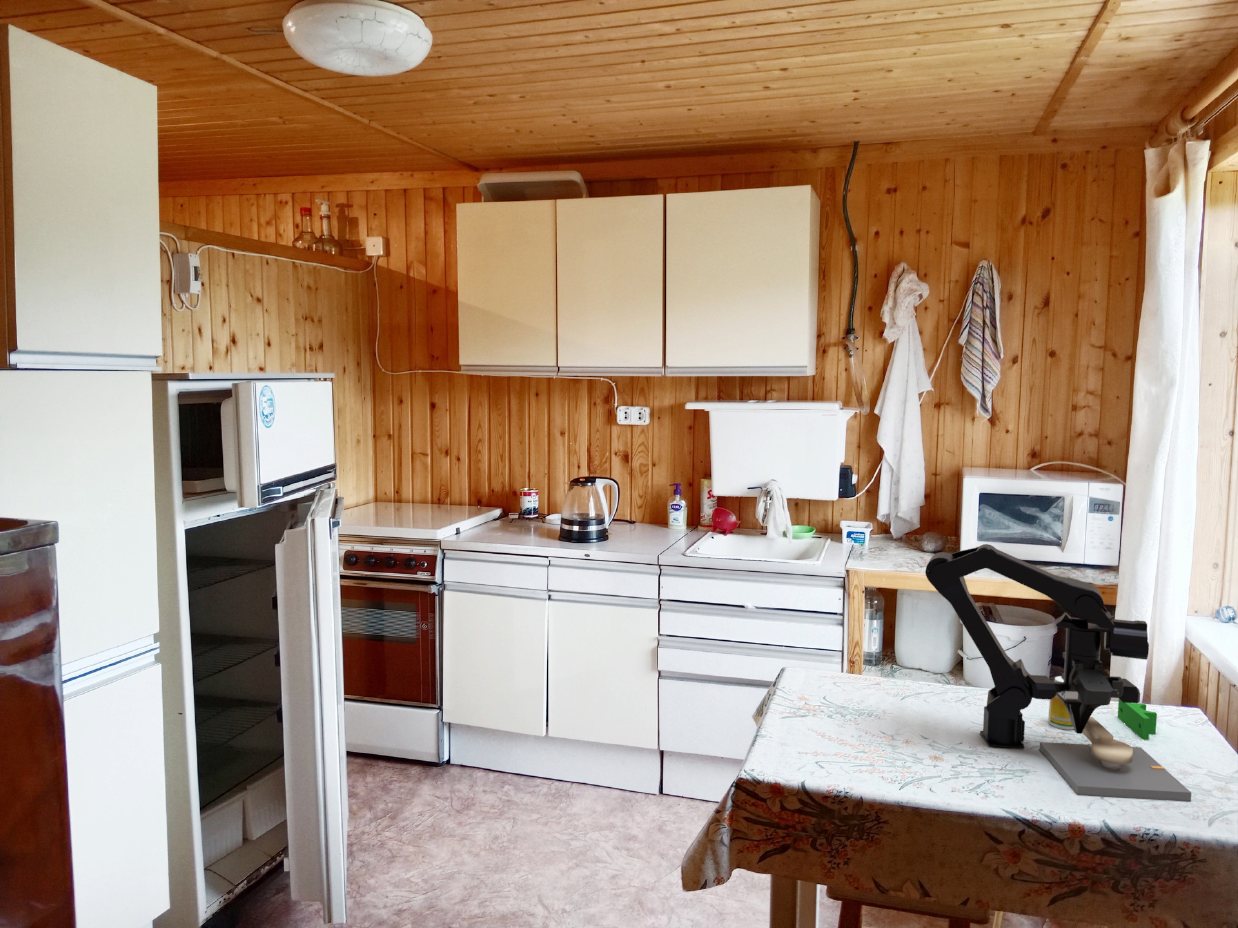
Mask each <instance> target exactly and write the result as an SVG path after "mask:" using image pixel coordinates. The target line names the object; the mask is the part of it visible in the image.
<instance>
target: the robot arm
mask: <svg viewBox="0 0 1238 928" xmlns="http://www.w3.org/2000/svg"><path fill="white" fill-rule="evenodd" d="M985 569H988V570H991V571H992V572H995V573H997V574H999V575H1001V576H1003V577H1005V578H1008V579H1010V580H1012V581H1014V582H1016V583H1019V584H1020V585H1023V586H1025V587H1027V588H1029V589H1031V590H1034V591H1036V592H1038V593H1039V594H1043V595H1045V596H1046V597H1048V598H1049V599H1050V600H1052V601H1053V602H1054V603H1056V605H1059V606H1060V607H1061V608H1063V609H1064V610H1066V612H1064V613H1063V614H1062V615H1061V616H1059V617H1057V618H1056V619H1055V625H1056V626H1055V627H1057V628H1062V629H1065V631H1066V632H1065V649H1064V651H1062V658H1063V659H1064V670H1063V671H1064V672H1061V676H1062V679H1063V680H1064V682H1055V681H1052V679H1050V678H1049V677H1048V676H1047V675H1037V674H1035V675H1034V674H1030V673H1029V672H1028V671H1027V669H1026V668H1025V665H1024V662H1023V660H1022V659H1021V658H1020V659H1019V658H1018V659H1017V661H1015V660H1013V659H1012V658H1010V656H1009V655H1008V654H1007V653H1006V651H1005V648H1003V646H1002V645H1001V643H1000V641H999V640H998V638H997V637H996V634H995V633H994V632H993V630H992V628H991V627H990V625H989V623H988V622H987V620H986V618H985V616H984V615H983V614H982V611H981V610H980V608H979V606H978V605H977V604H976V603H977V602H975V600H974V599H973V597H972V594H970V591H969V589H968V586H967V583H966V579H965V577H966V576H967V575H968V576H969V575H970V574H973V573H976V572H977V571H980V570H985ZM924 572H925V577H926V579H927V580H928V582H929V583H930V584H931V585H932V586H933V588H934V589H935V590H936V591H937V592H938V593H939V594H940V595H941V596H942V597H943V598H944V599H945V600H946V601H947V602H949V603H950V605H951V606H952V609H953V610H954V612H955V614H956V615H957V617H958V619H960V622H961V623H962V625H963V627H964V629H965V630H966V632H967V633H968V635H969V637H970V638H971V640H972V641H973V644H974V645H975V646H976V648H977V650H978V651H979V653H980V655H981V656H982V658H983V660H984V661H985V663H986V665H987V666H988V669H989V673H990V675H991V678H992V682H993V685H994V687H992V688H991V689H989V690H988V692H987V700H986V706H985V705H984V706H983V722H982V723H983V725H982V730H980V731H979V734H980V736H981V738H983V740H984V741H985V743H986V745H988V747H991V748H992V747H994V748H1009V749H1010V748H1012V749H1013V748H1014V749H1024V748H1025V745H1024V741H1025V728H1026V726H1025V725H1026V721H1025V720H1024V719H1023V716H1024V715H1023V713H1022V712H1021V711H1022V710H1025V709H1026V708H1028V707H1029V706H1030V704H1031V703H1032V699H1036V700H1049V701H1050V700H1051V699H1052V698H1054V697H1055V696H1057V697H1058V698H1059V699H1060V700H1061V701H1063V702H1064V704H1065V706H1066V708H1067V711H1068V713H1069V716H1070V719H1071V722H1072V725H1073V727H1074V729H1073V730H1074V732H1075V733H1076V735H1077V734H1079V735H1082V734H1083V733H1082V732H1083V730H1084V728H1085V726H1086V724H1087V722H1088V720H1089V718H1090V717H1092V714H1093V713H1094V711H1095V710H1096V709H1097V708H1099V707H1101V706H1109V705H1110V703H1111V700H1112V698H1113V699H1118V700H1119V699H1120V700H1121V701H1122V702H1123V703H1140V701H1141V691H1140V689H1139V688H1138V687H1137V686H1136V685H1135V684H1133V683H1132V682H1131V681H1129V680H1128V679H1127V678H1122V677H1121V676H1111V675H1105V673H1104V670H1103V669H1104V667H1103V662H1102V661H1101V660H1100V659H1101V643H1102V642H1101V641H1102V633H1104V635H1103V636H1104V639H1103V641H1104V643H1103V646H1104V648H1103V649H1104V650H1108V652H1109V654H1110V656H1111V657H1121V658H1128V659H1129V658H1130V659H1136V660H1145V661H1148V657H1149V651H1150V644H1149V637H1148V634H1149V633H1148V623H1147V622H1146V621H1145V620H1128V619H1127V620H1125V619H1116V618H1113V617H1112V615H1111V614H1112V613H1111V612H1110V611H1109V610H1107V608H1106V607H1105V606H1104V605H1105V604H1104V603H1105V601H1104V599H1103V596H1102V594H1101V591H1100V590H1099V588H1098V587H1097V586H1095V585H1093V584H1092V583H1090V582H1085V581H1082V580H1078V579H1076V578H1075V579H1074V578H1071V577H1064V576H1059V575H1056V574H1053V573H1051V572H1048V571H1047V570H1044V569H1042V568H1040V567H1038V566H1035V565H1033V564H1031V563H1028V562H1026V561H1024V560H1021V559H1020V558H1017V557H1015V556H1013V555H1010V554H1009V553H1006V552H1004V551H1003V550H1002V551H1001V550H999V549H997V548H996V547H995V546H993V545H992V544H988V543H986V544H981V545H979V546H976V547H972V548H968V549H963V550H959V551H956V552H953V553H949V552H945V551H944V552H943V551H942V552H941V551H940V552H937V553H935V554H933V555H932V556H931V557H930V559H929V560H928V563H927V565H926V567H925V571H924ZM1068 612H1069V613H1070V614H1071V615H1073V616H1075V617H1072V616H1070V615H1069V614H1068ZM1089 621H1091V622H1092V623H1091V622H1089Z"/></svg>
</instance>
